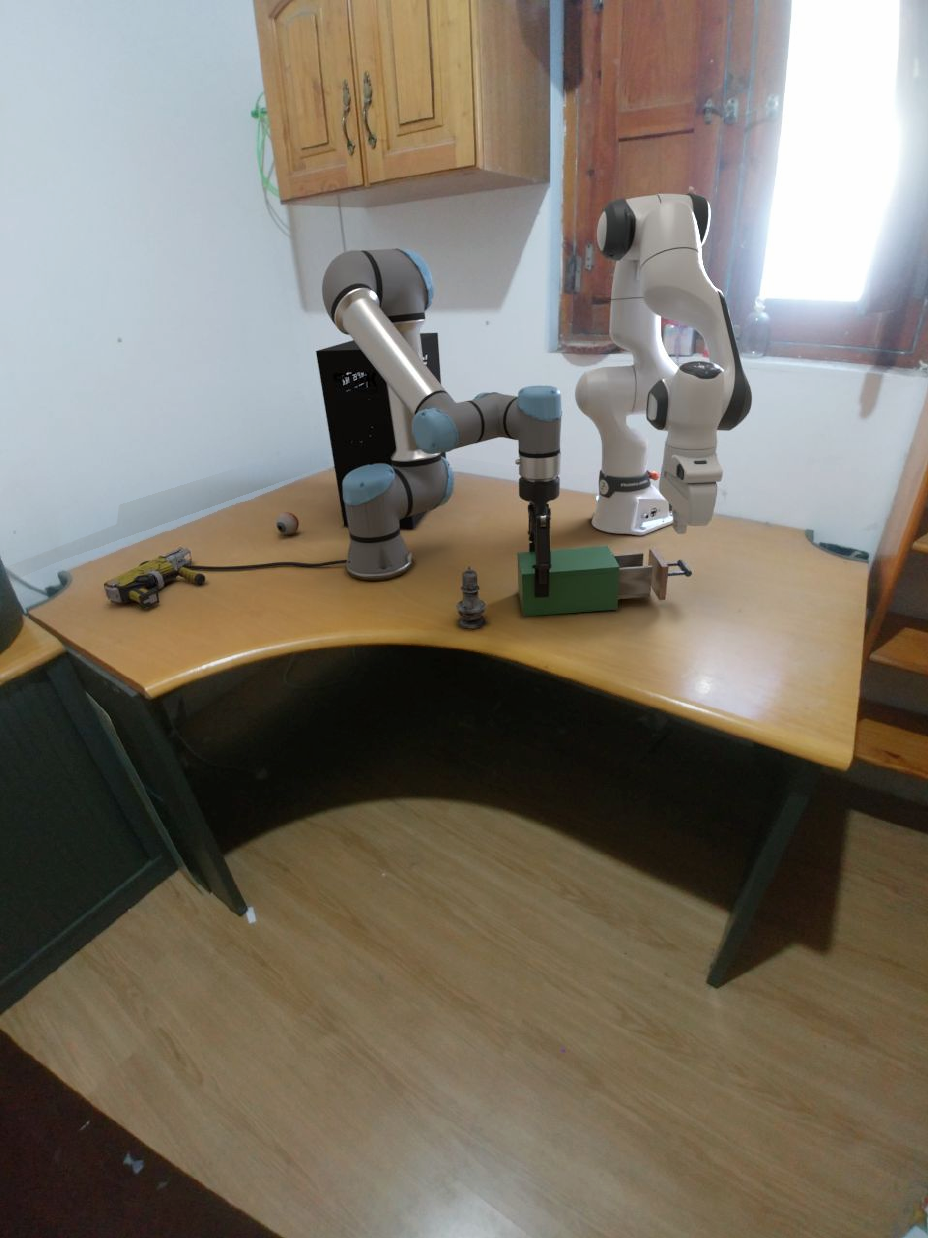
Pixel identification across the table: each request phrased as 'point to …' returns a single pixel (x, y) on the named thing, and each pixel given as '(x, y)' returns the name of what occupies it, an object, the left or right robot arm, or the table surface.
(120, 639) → the table surface
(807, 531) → the table surface
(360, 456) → the cardboard box
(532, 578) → the cabinet
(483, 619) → the grey chess piece
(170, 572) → the toy gun
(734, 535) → the table surface
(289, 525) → the eyeball
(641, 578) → the drawer
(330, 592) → the table surface
